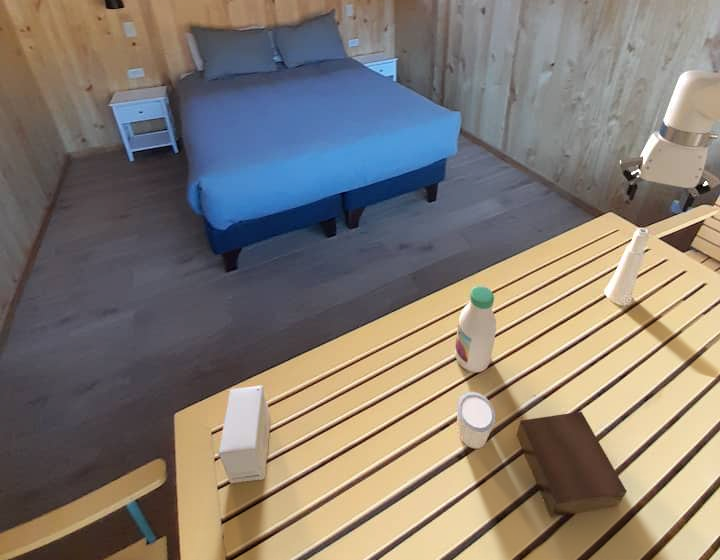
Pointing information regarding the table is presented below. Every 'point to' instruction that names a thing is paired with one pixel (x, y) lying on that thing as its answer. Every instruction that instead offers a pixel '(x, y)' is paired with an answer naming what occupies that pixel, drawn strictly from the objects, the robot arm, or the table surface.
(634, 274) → the cosmetic bottle
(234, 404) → the cosmetics box
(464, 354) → the milk bottle
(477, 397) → the white yogurt cup
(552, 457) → the block
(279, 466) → the table surface
